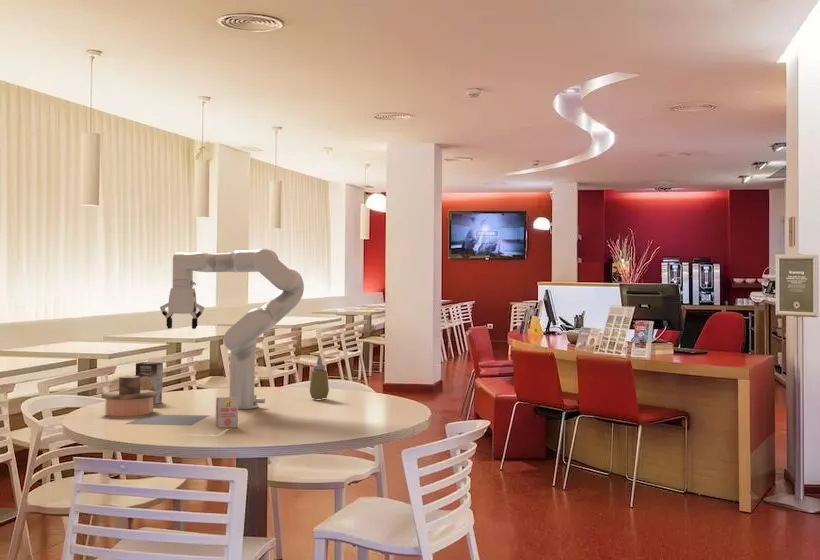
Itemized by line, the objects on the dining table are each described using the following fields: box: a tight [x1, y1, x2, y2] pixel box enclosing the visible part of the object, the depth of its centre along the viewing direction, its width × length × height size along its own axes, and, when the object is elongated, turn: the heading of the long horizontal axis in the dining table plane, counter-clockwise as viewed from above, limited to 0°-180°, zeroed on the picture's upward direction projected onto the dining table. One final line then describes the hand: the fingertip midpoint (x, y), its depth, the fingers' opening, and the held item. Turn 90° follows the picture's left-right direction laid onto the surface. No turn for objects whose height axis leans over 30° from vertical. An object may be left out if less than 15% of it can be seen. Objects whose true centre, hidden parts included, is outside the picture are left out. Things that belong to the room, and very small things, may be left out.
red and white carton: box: [215, 396, 239, 429], centre depth 254 cm, size 4×7×10 cm, turn 109°
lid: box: [101, 375, 157, 400], centre depth 280 cm, size 19×19×7 cm
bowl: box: [104, 397, 154, 417], centre depth 280 cm, size 16×16×6 cm
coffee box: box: [135, 361, 164, 405], centre depth 308 cm, size 9×6×16 cm
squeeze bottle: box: [309, 356, 330, 399], centre depth 322 cm, size 8×8×18 cm
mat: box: [126, 413, 210, 426], centre depth 265 cm, size 22×20×1 cm
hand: (181, 328), depth 300 cm, fingers open, 9 cm apart
